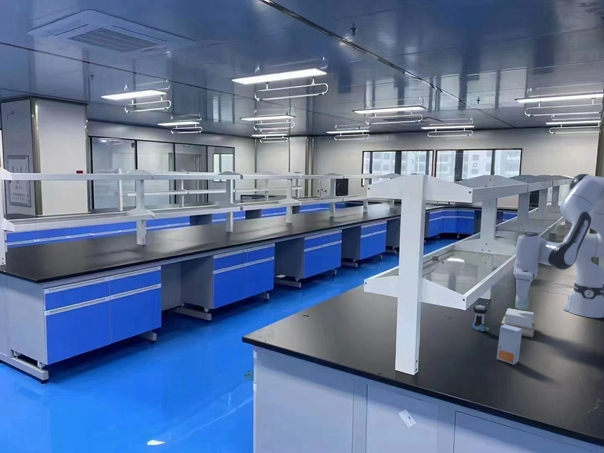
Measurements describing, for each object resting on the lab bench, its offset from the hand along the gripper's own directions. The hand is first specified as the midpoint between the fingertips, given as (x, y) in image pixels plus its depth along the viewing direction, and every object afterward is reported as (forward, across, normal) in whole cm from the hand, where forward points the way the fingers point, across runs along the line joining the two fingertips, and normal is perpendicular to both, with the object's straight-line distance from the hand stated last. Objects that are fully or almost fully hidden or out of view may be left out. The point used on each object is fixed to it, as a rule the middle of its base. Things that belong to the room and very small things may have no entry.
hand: (521, 304), depth 184 cm
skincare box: (+12, +38, -1) cm, 40 cm away
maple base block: (+12, 0, -1) cm, 12 cm away
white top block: (+8, 0, 0) cm, 8 cm away
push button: (+12, +10, -14) cm, 21 cm away
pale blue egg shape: (+2, 0, 0) cm, 2 cm away
